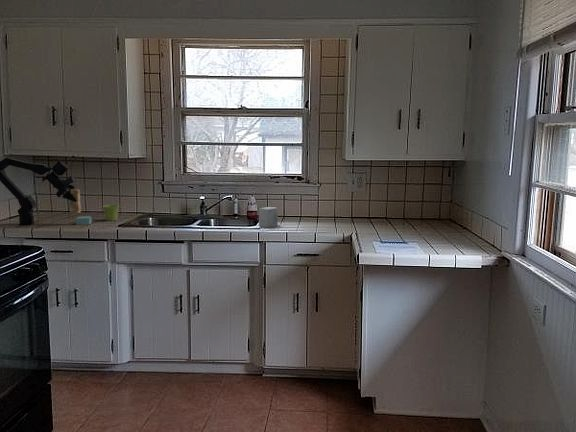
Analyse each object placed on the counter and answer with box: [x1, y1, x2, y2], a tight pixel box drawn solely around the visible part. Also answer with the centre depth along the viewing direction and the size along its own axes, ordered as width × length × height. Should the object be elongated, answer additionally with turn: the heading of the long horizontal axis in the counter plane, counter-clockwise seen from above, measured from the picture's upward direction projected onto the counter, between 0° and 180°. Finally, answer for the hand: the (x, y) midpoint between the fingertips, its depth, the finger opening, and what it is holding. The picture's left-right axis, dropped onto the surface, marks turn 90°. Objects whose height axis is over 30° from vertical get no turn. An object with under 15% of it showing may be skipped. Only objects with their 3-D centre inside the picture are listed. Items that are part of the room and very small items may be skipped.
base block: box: [75, 215, 93, 226], centre depth 302 cm, size 7×7×4 cm
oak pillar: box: [69, 188, 82, 214], centre depth 300 cm, size 4×4×13 cm
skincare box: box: [258, 206, 279, 228], centre depth 301 cm, size 10×6×10 cm, turn 149°
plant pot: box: [102, 204, 120, 222], centre depth 316 cm, size 9×9×9 cm
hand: (77, 201), depth 300 cm, fingers closed on oak pillar, 4 cm apart
